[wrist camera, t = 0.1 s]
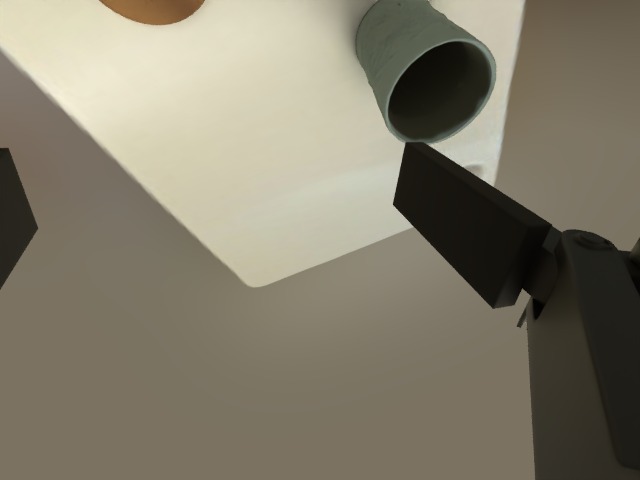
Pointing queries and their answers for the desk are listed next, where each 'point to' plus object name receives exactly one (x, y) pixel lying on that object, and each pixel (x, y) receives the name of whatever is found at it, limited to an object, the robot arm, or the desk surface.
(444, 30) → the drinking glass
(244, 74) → the desk surface
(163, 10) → the coaster
